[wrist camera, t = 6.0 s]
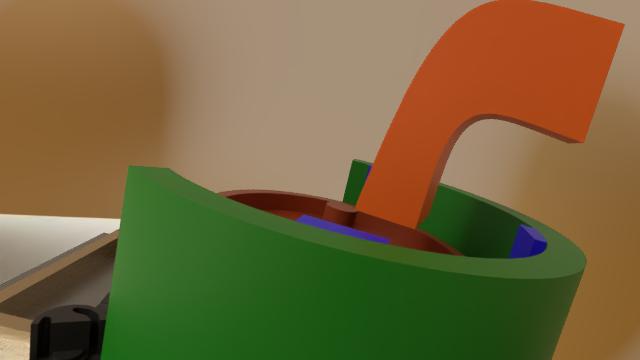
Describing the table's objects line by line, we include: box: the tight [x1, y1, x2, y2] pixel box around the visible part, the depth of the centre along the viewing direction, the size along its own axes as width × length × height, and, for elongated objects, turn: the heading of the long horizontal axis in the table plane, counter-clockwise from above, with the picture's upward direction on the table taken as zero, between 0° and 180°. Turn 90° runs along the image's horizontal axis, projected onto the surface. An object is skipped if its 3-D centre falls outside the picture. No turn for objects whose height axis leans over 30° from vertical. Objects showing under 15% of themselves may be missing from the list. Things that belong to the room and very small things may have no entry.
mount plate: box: [0, 229, 119, 360], centre depth 30 cm, size 20×18×3 cm
